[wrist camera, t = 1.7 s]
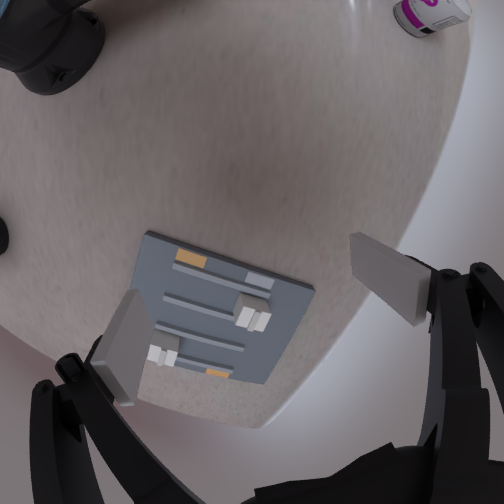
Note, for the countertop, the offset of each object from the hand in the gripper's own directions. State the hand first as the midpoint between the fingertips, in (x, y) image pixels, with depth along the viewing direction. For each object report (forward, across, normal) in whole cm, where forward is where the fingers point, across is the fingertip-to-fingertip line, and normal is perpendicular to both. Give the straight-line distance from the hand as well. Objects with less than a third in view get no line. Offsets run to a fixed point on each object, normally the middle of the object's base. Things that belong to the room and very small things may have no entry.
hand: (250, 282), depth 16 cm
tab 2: (+20, 0, -13) cm, 24 cm away
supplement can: (+22, +41, +32) cm, 57 cm away
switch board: (+22, -6, -15) cm, 28 cm away
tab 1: (+20, -14, -16) cm, 29 cm away
